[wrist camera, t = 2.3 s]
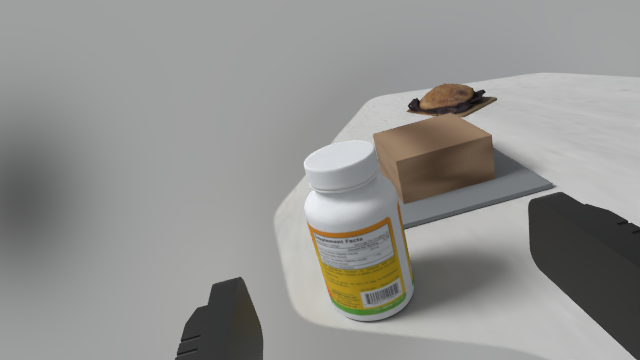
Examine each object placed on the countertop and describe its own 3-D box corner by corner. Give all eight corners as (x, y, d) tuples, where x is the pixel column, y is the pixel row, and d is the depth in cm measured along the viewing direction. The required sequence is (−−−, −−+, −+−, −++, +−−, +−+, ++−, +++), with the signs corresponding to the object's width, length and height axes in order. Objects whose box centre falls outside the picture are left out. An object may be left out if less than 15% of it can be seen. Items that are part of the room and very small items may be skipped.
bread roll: (501, 102, 54) (500, 75, 52) (459, 124, 50) (457, 95, 49) (440, 97, 62) (437, 74, 61) (401, 115, 59) (397, 91, 57)
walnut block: (455, 149, 41) (450, 112, 39) (495, 179, 34) (491, 134, 32) (380, 170, 41) (372, 134, 39) (403, 204, 34) (396, 161, 32)
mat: (479, 142, 42) (478, 139, 42) (552, 187, 31) (552, 183, 31) (351, 178, 42) (350, 174, 42) (379, 235, 31) (378, 231, 31)
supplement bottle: (357, 259, 29) (325, 135, 25) (428, 274, 26) (404, 133, 22) (315, 310, 25) (270, 174, 21) (392, 335, 22) (356, 178, 18)
